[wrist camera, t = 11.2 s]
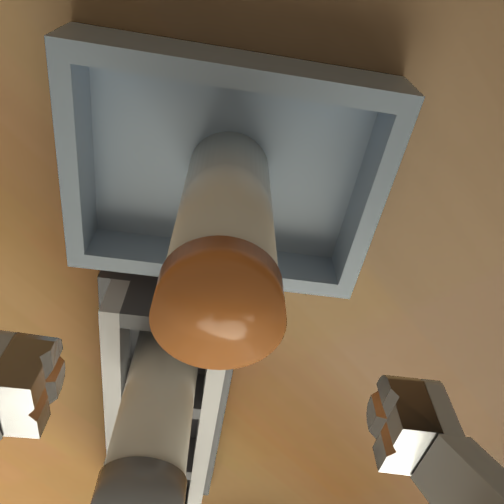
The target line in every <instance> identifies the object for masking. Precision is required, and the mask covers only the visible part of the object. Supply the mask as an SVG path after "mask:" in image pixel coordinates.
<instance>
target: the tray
mask: <svg viewBox="0 0 504 504" xmlns="http://www.w3.org/2000/svg"><path fill="white" fill-rule="evenodd" d="M44 39H45V48H46V58H47V68H48V78H49V87H50V97H51V107H52V117H53V127H54V136H55V146H56V156H57V166H58V176H59V185H60V195H61V205H62V215H63V225H64V234H65V244H66V254H67V264H68V266H69V267H78V268H87V269H95V270H104V271H112V272H121V273H130V274H138V275H147V276H155V277H158V276H159V273H160V269H161V267H162V265H163V263H164V261H165V260H166V258H167V254H168V250H169V246H170V241H171V237H172V233H173V229H174V225H175V221H176V217H177V213H178V208H179V204H180V200H181V196H182V192H183V188H184V184H185V180H186V176H187V171H188V167H189V163H190V159H191V156H192V153H193V151H194V149H195V148H196V146H197V145H198V144H199V143H200V142H201V141H202V140H203V139H205V138H206V137H208V136H210V135H212V134H215V133H218V132H226V131H231V132H238V133H241V134H244V135H246V136H248V137H250V138H252V139H253V140H254V141H256V142H257V143H258V144H259V145H260V147H261V148H262V149H263V151H264V153H265V155H266V157H267V160H268V167H269V177H270V188H271V198H272V209H273V219H274V230H275V240H276V251H277V261H278V267H279V269H280V272H281V275H282V280H283V289H284V291H285V292H293V293H302V294H311V295H319V296H328V297H336V298H345V299H350V297H351V294H352V292H353V289H354V286H355V284H356V281H357V278H358V276H359V273H360V270H361V267H362V265H363V262H364V259H365V257H366V254H367V251H368V249H369V246H370V243H371V241H372V238H373V235H374V233H375V230H376V227H377V225H378V222H379V219H380V216H381V214H382V211H383V208H384V206H385V203H386V200H387V198H388V195H389V192H390V190H391V187H392V184H393V182H394V179H395V176H396V173H397V171H398V168H399V165H400V163H401V160H402V157H403V155H404V152H405V149H406V147H407V144H408V141H409V139H410V136H411V133H412V131H413V128H414V125H415V122H416V120H417V117H418V114H419V112H420V109H421V106H422V104H423V101H424V98H425V96H424V95H423V94H422V93H420V92H419V91H418V90H417V89H416V88H415V87H414V86H413V85H412V84H411V83H410V82H409V81H408V80H407V79H406V78H405V77H404V76H398V75H392V74H386V73H380V72H374V71H368V70H362V69H356V68H349V67H343V66H337V65H331V64H325V63H319V62H313V61H307V60H301V59H295V58H289V57H283V56H277V55H271V54H265V53H258V52H252V51H246V50H240V49H234V48H228V47H222V46H216V45H210V44H204V43H198V42H192V41H186V40H180V39H174V38H168V37H161V36H155V35H149V34H143V33H137V32H131V31H125V30H119V29H113V28H107V27H101V26H95V25H89V24H83V23H77V22H69V23H67V24H65V25H63V26H61V27H59V28H57V29H55V30H54V31H52V32H50V33H48V34H46V35H44Z"/></svg>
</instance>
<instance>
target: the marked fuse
mask: <svg viewBox="0 0 504 504" xmlns="http://www.w3.org/2000/svg"><path fill="white" fill-rule="evenodd" d="M149 324H150V329H151V332H152V334H153V336H154V338H155V340H156V341H157V343H158V344H159V345H160V346H161V347H162V348H163V349H164V350H165V351H166V352H167V353H168V354H170V355H171V356H172V357H174V358H176V359H177V360H179V361H181V362H184V363H186V364H188V365H191V366H194V367H199V368H203V369H210V370H230V369H237V368H241V367H245V366H248V365H251V364H254V363H256V362H258V361H260V360H262V359H264V358H265V357H267V356H268V355H269V354H271V353H272V352H273V351H274V350H275V349H276V348H277V346H278V345H279V344H280V342H281V340H282V339H283V337H284V334H285V331H286V326H287V317H286V308H285V298H284V289H283V280H282V275H281V272H280V269H279V267H278V261H277V251H276V240H275V230H274V219H273V209H272V198H271V188H270V177H269V167H268V160H267V157H266V155H265V153H264V151H263V149H262V148H261V147H260V145H259V144H258V143H257V142H256V141H254V140H253V139H252V138H250V137H248V136H246V135H244V134H241V133H238V132H231V131H226V132H218V133H215V134H212V135H210V136H208V137H206V138H205V139H203V140H202V141H201V142H200V143H199V144H198V145H197V146H196V148H195V149H194V151H193V153H192V156H191V159H190V163H189V167H188V171H187V176H186V180H185V184H184V188H183V192H182V196H181V200H180V204H179V208H178V213H177V217H176V221H175V225H174V229H173V233H172V237H171V241H170V246H169V250H168V254H167V258H166V260H165V261H164V263H163V265H162V267H161V269H160V273H159V276H158V280H157V284H156V288H155V292H154V296H153V300H152V304H151V308H150V313H149Z"/></svg>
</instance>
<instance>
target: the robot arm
mask: <svg viewBox="0 0 504 504" xmlns="http://www.w3.org/2000/svg"><path fill="white" fill-rule="evenodd" d="M62 350H63V345H62V339H60V338H55V337H47V336H40V335H33V334H26V333H19V332H18V333H17V332H10V331H2V330H0V440H1V439H2V436H6V437H20V438H35V439H40V437H41V435H42V433H43V430H44V428H45V426H46V424H47V421H48V419H49V417H50V415H51V414H50V407H49V404H51V403H52V402H53V401H55V400H56V399H58V396H59V394H60V391H61V389H62V385H63V381H64V377H65V361H64V360H63V359H62V358H61V357H60V354H61V352H62ZM377 387H378V391H377V392H376V393H374V394H372V395H371V397H370V399H369V402H368V406H367V424H368V429H369V432H370V433H371V434H372V435H373V436H374V437H375V438H376V442H375V443H374V445H373V451H374V455H375V460H376V464H377V468H378V472H384V473H392V474H399V475H407V476H411V477H410V478H411V479H412V480H413V482H414V483H415V484H416V486H417V487H418V489H419V490H420V491H421V493H422V494H423V495H424V497H425V498H426V499H427V501H428V502H429V503H430V504H504V468H503V467H502V466H501V465H500V464H499V463H498V462H497V461H496V460H494V459H493V458H492V457H491V456H490V455H489V454H488V453H487V452H486V451H485V450H484V449H483V448H482V447H481V446H480V445H479V444H477V443H476V442H475V441H474V440H473V439H472V438H471V437H465V434H464V432H463V430H462V427H461V425H460V423H459V420H458V418H457V416H456V413H455V411H454V409H453V406H452V404H451V402H450V399H449V397H448V395H447V392H446V390H445V387H444V385H443V384H442V383H441V382H440V381H435V380H426V379H418V378H410V377H400V376H390V375H383V376H381V377H380V378H379V380H378V382H377Z"/></svg>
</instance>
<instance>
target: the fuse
mask: <svg viewBox="0 0 504 504" xmlns="http://www.w3.org/2000/svg"><path fill="white" fill-rule="evenodd" d="M197 371H198V367H194V366H191V365H188V364H186V363H184V362H181V361H179V360H177V359H176V358H174V357H172V356H171V355H170V354H168V353H167V352H166V351H165V350H164V349H163V348H162V347H161V346H160V345H159V344H158V343H157V341H156V340H155V338H154V336H153V334H152V332H151V331H141V330H140V332H139V335H138V339H137V343H136V346H135V350H134V354H133V358H132V361H131V365H130V369H129V373H128V376H127V380H126V384H125V387H124V391H123V395H122V399H121V402H120V406H119V410H118V414H117V417H116V421H115V425H114V428H113V432H112V436H111V440H110V443H109V447H108V451H107V455H106V458H105V462H104V466H103V467H102V468H101V470H100V472H99V475H98V479H97V483H96V486H95V490H94V494H93V497H92V501H91V504H185V498H186V489H187V478H186V468H187V459H188V450H189V442H190V433H191V424H192V415H193V406H194V398H195V389H196V380H197Z"/></svg>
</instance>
